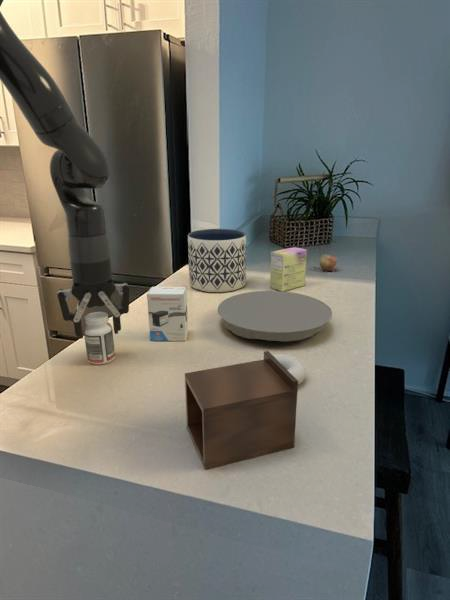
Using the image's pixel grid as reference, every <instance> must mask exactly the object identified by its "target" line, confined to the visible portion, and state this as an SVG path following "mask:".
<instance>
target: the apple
mask: <svg viewBox="0 0 450 600" xmlns="http://www.w3.org/2000/svg"><path fill="white" fill-rule="evenodd" d="M318 261H319V266H320V269H321V270H322V271H325V272H333V271H334V270H335V268H336V265H337V263H338V259H337V257H336V256H335V255H331V254H327V253H325V254H323V255H321V257H320V258H319V260H318Z"/></svg>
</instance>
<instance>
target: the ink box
mask: <svg viewBox="0 0 450 600" xmlns="http://www.w3.org/2000/svg"><path fill="white" fill-rule="evenodd" d="M146 301H147V314H148V315H147V316H148V327H149V340H150V341H151V342H186V341H187V338H188V334H189V319H188V318H189V317H188V288H187V287H185V286H152V287H150V288H149V289H148V292H147V293H146Z"/></svg>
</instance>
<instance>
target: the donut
mask: <svg viewBox="0 0 450 600" xmlns="http://www.w3.org/2000/svg"><path fill="white" fill-rule="evenodd" d="M271 354H272V353H271ZM272 355H273V356H274V357H275V358H276V359H277V360H278V361H279V362H280V363H281V364H282V365H283V366H284V367H285V368H286V369H287V370H288V371H289V372H290V373H291V374H292V375H293V376H294V377H295V378H296V379H297V380H298V385H300V384H301V383H302V382H303V381H304V380H305V378H306V376H307V368H306V366H305V364H304V363H303V361H301V360H300V359H299V358H297V357H295V356H292V355H289V354H284V353H274V354H272ZM263 359H264V356H263V357H261V358H259V359H258V360H263Z"/></svg>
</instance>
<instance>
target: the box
mask: <svg viewBox="0 0 450 600" xmlns="http://www.w3.org/2000/svg"><path fill="white" fill-rule="evenodd" d="M307 252H308V250H307V249H304V248H300V247H295V246H293V247H288V248H282V249H277V250H273V251H272V250H271V251H270V277H269V288H271V289H273V290H275V291H283V292H287V291H289V290H293V289H297V288H301V287H305V286H306V274H307V273H306V271H307Z"/></svg>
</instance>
